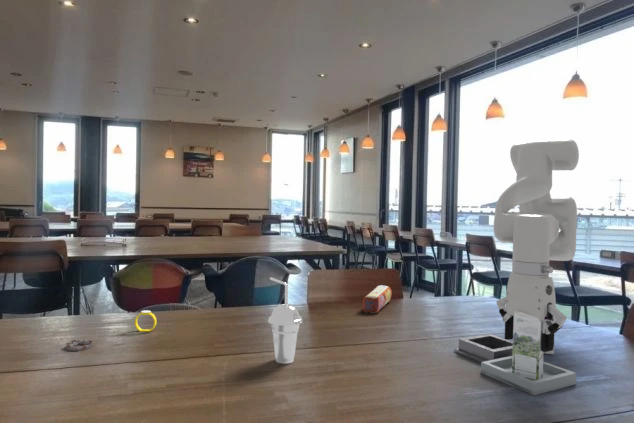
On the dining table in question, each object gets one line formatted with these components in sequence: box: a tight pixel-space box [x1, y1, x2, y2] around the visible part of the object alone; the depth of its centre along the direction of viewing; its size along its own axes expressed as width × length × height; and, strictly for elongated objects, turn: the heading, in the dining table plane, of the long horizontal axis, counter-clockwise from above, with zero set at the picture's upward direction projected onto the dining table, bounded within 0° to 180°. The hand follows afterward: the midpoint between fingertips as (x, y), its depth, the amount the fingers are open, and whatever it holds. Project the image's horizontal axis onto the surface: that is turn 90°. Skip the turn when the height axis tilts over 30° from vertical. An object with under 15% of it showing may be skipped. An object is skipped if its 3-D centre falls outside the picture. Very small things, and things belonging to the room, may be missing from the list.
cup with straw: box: [267, 276, 304, 365], centre depth 113 cm, size 8×9×20 cm
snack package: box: [362, 284, 393, 314], centre depth 173 cm, size 21×7×7 cm, turn 159°
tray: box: [480, 356, 577, 397], centre depth 105 cm, size 14×14×2 cm
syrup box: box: [512, 310, 544, 380], centre depth 104 cm, size 6×6×14 cm
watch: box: [134, 309, 158, 333], centre depth 136 cm, size 6×3×6 cm, turn 93°
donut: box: [65, 339, 93, 352], centre depth 120 cm, size 8×8×2 cm
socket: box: [453, 333, 513, 363], centre depth 120 cm, size 13×13×4 cm
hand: (528, 344), depth 104 cm, fingers open, 9 cm apart
